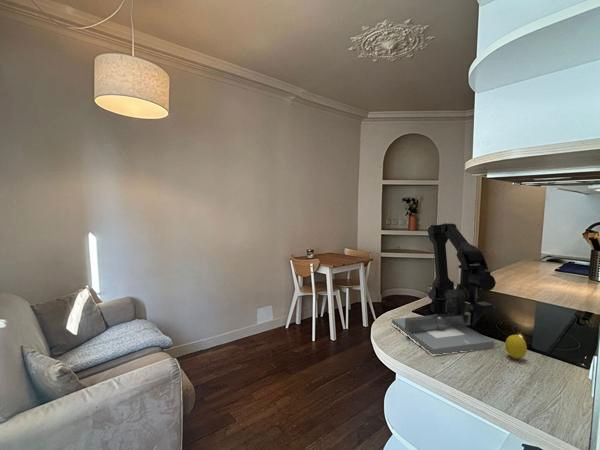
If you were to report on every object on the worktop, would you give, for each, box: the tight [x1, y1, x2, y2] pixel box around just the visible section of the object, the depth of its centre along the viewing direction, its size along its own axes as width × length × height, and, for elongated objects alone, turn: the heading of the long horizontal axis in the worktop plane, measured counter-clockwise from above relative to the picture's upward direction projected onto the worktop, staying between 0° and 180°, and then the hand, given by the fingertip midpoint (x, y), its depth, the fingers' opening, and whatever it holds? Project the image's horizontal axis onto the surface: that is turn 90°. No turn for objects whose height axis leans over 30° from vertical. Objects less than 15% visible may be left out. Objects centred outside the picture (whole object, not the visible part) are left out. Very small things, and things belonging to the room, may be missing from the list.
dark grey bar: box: [404, 311, 471, 332], centre depth 109 cm, size 27×4×4 cm, turn 104°
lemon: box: [504, 333, 528, 360], centre depth 94 cm, size 6×6×8 cm
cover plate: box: [391, 314, 494, 354], centre depth 110 cm, size 24×24×3 cm
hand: (466, 323), depth 112 cm, fingers open, 5 cm apart
